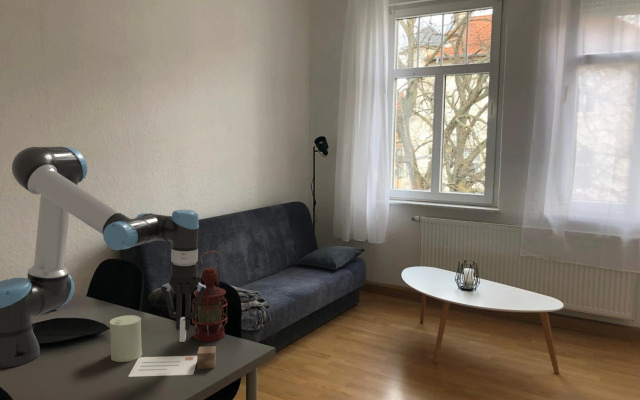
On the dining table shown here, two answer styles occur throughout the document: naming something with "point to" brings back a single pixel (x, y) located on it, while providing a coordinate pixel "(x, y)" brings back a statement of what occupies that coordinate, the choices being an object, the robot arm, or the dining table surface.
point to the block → (206, 357)
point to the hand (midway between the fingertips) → (182, 339)
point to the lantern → (210, 307)
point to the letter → (164, 366)
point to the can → (125, 338)
